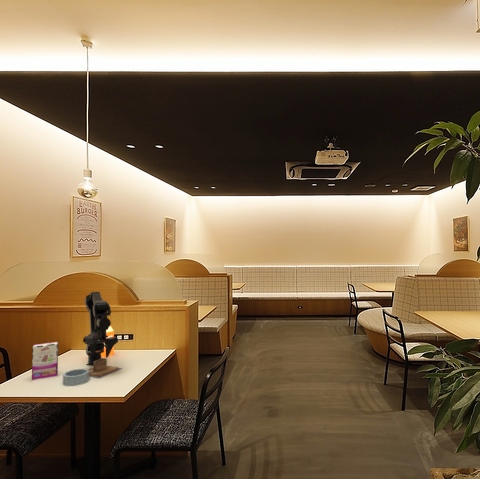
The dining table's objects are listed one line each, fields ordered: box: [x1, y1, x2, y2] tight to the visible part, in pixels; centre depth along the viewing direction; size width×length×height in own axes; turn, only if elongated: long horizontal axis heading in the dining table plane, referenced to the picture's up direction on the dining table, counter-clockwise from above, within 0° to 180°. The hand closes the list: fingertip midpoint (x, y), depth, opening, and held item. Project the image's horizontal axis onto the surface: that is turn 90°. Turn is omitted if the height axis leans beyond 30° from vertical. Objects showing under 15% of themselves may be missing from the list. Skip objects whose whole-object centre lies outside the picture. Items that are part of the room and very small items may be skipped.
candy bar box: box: [31, 341, 59, 381], centre depth 164 cm, size 11×5×16 cm, turn 118°
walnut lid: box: [88, 357, 120, 377], centre depth 169 cm, size 13×13×6 cm
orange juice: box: [101, 325, 115, 358], centre depth 201 cm, size 8×9×20 cm
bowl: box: [62, 368, 90, 387], centre depth 155 cm, size 11×11×4 cm
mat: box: [89, 367, 123, 379], centre depth 169 cm, size 16×16×1 cm
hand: (100, 356), depth 170 cm, fingers open, 9 cm apart
